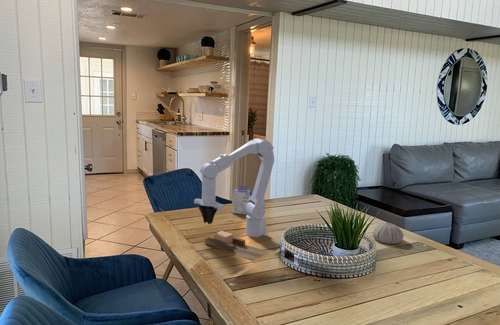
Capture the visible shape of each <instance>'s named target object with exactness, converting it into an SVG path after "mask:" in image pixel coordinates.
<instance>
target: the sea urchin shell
mask: <svg viewBox="0 0 500 325" xmlns="http://www.w3.org/2000/svg"><path fill="white" fill-rule="evenodd" d="M372 237H373V239H374V240H376V241H377V242H380V243H383V244H387V245H389V244H390V245H397V244H399V243H402V241H403V239H404V233H403V231H402V229H400V227H399V226H397V225H396V224H393V223H391V222H381V223H380V224H378V225H377V226H376V227H375V228H374V229H373V231H372Z"/></svg>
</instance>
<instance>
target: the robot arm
mask: <svg viewBox="0 0 500 325" xmlns="http://www.w3.org/2000/svg"><path fill="white" fill-rule="evenodd" d="M248 154H255V155H257V156H258V157H259V159H260V161H261V163H260V165H259V170H258V173H257V176H256V180H255V184H254V186H253V191H252V195H251V196H250V197H249V199H248V201H247V203H246V204H245V207H244V208H245V211H246V212H247V214H245V215H246V217H245V235H246V237H250V238H260V237H262V236H267V235H268V233H266V231H267V230H266V229H267V220H266V218H265V214H266V210H265V208H266V201H265V196H266V191H267V189H268V184H269V181H270V177H271V175H272V171H273V167H274V164H275V156H274V146H273V145H272V143H271V142H270V141H269V140H267V139H263V138H260V137H256V138H253V139H251V140H249V141H247V142H246V143H245V144H243V145H241V147H239V148H237V149H236V150H234V151H233V152H230V154H227V153H224V154H223V153H220V154H219V156H218V157H217V158H215V159H213V160H210V161H209V162H205V163H204V164H202V166H201V168H200V174H201V175H202V178H201V198H195V199H194V200H193V203H194V204H195V205H200V206H198V210H199V211H200V213H201V215H202V219H203V220H202V221H203V223H204V224H206V223H207V224H208V225H211V224H212V223H213V221H214V218H215V215H216V213H217V211H218V210H219V211H222V210H224V204H223V203H219V202H218V201H216V194H217V193H216V191H217V189H216V186H217V185H216V180H217V179H216V177H217V176H218V175H219V173H221V172H223V171H224V170H226V169H228V168H230V167H231V166H232V165H233V162H235V161H237V160H238V159H241V158H243V157H244V156H246V155H248Z"/></svg>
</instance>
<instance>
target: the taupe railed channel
mask: <svg viewBox="0 0 500 325" xmlns="http://www.w3.org/2000/svg"><path fill="white" fill-rule="evenodd" d="M204 240H205V241H204V242H203V243H202V245H204V246H206V247H210V248H212V249H216V250H218V251H220V252H221V251H222V252H225V253H227V254H230V255H234V256H237V257H239V258H243V259H246V260H249V261H251V262H253V264H255V263H256V261H255V260H258V261H260V260H262V259H263V258H265V257H266V256H268V254H269V251H266V250H264V249H261V248H257V247H254V246H251V245H248V244H247V245H246V239H243V238H240V237H236V236H233V244H232V245H231V244H228V243H225V242H222V241H219V240H216V239H214V238H212V237H208V236H207V237H205V238H204ZM264 255H265V256H264Z"/></svg>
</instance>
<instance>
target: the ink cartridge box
mask: <svg viewBox="0 0 500 325" xmlns="http://www.w3.org/2000/svg"><path fill="white" fill-rule="evenodd" d="M252 194H253V191H252V190H249V189H248V190H247V185H239V188H238V189H234V190H232V196H231V197H232V198H231V199H232V200H231V214H241V215H247V212H246V211H245V208H244V207H245V204H246V203H247V201H248V199H249V197H250V196H251V195H252Z"/></svg>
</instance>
